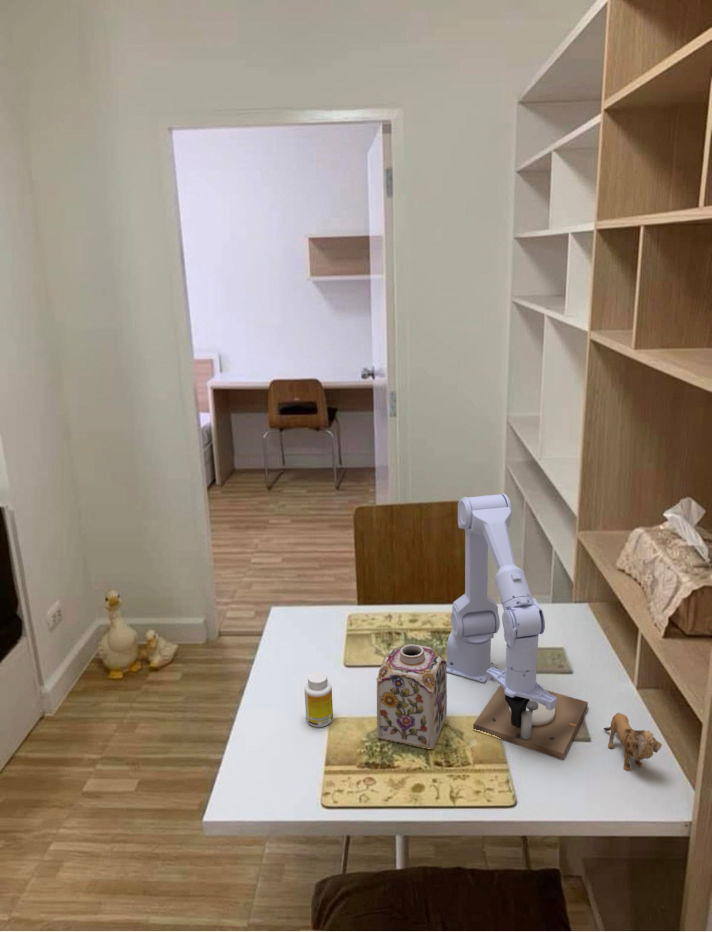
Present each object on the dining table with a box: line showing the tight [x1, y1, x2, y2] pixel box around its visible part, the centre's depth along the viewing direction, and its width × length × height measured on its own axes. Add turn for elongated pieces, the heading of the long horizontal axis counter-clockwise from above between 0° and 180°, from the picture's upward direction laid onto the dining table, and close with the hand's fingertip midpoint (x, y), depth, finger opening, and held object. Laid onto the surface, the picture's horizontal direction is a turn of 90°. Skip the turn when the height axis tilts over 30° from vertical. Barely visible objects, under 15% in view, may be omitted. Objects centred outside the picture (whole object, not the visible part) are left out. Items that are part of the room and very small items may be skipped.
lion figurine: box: [603, 712, 663, 772], centre depth 135 cm, size 15×5×9 cm, turn 14°
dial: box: [509, 699, 555, 739], centre depth 144 cm, size 14×9×5 cm, turn 159°
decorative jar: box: [376, 643, 448, 750], centre depth 143 cm, size 12×12×18 cm
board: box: [472, 685, 589, 761], centre depth 147 cm, size 18×18×2 cm
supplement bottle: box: [304, 671, 334, 728], centre depth 148 cm, size 6×6×10 cm
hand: (518, 724), depth 140 cm, fingers closed, pressing on dial
